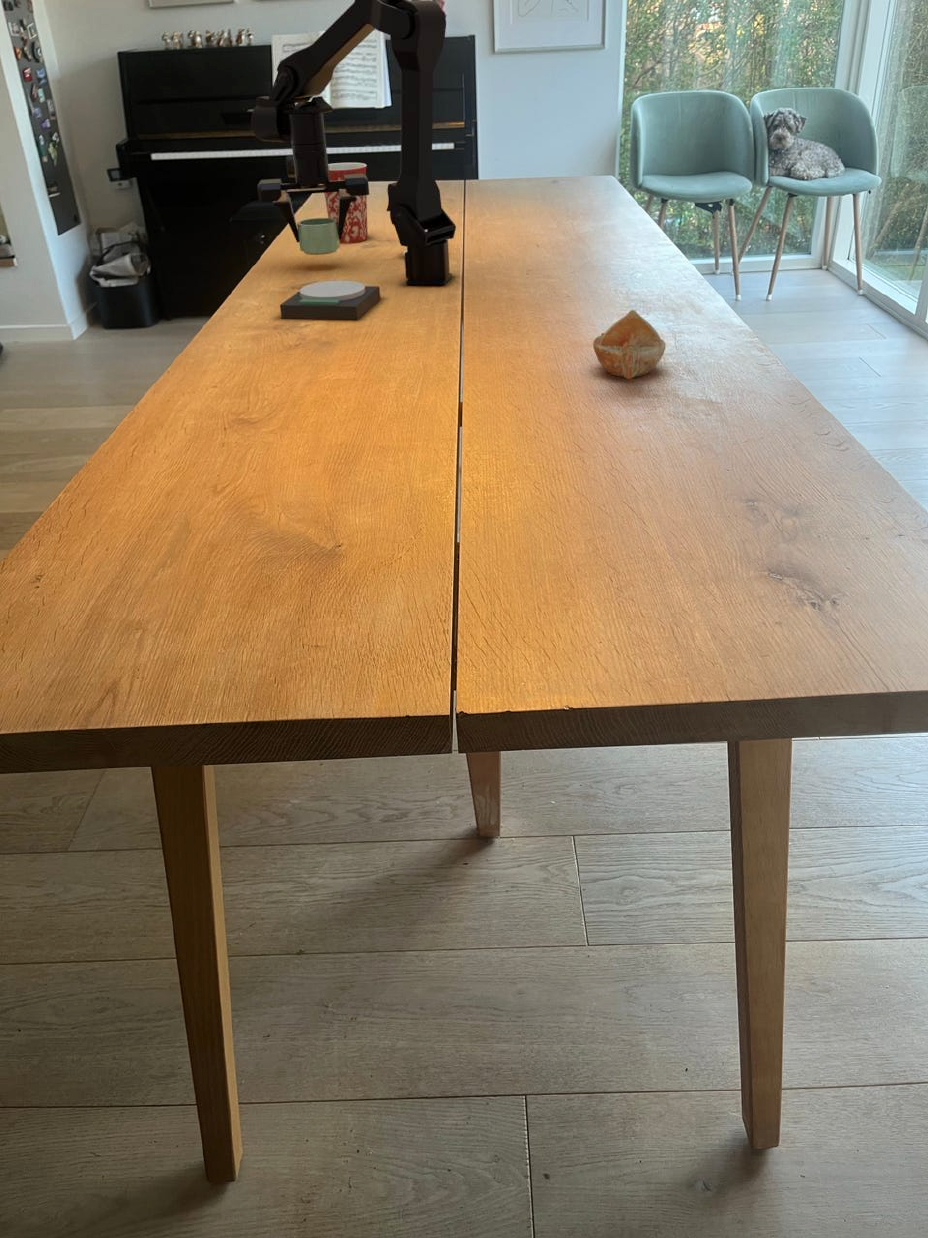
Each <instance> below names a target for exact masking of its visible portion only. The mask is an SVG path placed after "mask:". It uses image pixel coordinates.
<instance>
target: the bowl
mask: <svg viewBox="0 0 928 1238" xmlns="http://www.w3.org/2000/svg"><path fill="white" fill-rule="evenodd" d="M296 225H297V229H298V235H299V242H298V244H299V250H300V252H302V253H304V254H305V255H308V256H322V255H323V256H324V255H330V254H334V253H336V252H337V251H338V250H339V249H340V248H341V245H340V244H341V243H340V241H339V232H338V221H337V219H333V218H328V217H315V218H314V217H313V218H306V219H302V220H299V221H296Z"/></svg>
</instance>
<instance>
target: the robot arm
mask: <svg viewBox="0 0 928 1238" xmlns="http://www.w3.org/2000/svg"><path fill="white" fill-rule="evenodd" d="M375 30H377V31H378V32H379V33H383V34H386V35H389V38H390V47H391V51H392V53H393V55H394V57H395V61H396V62H397V64H398V67H399V70H400V172H399V176H398V178H397V181H396V182H391V183H388V184H387V190H386V192H387V199H388V202H387V206H386V212H389V218H390V222H391V225H393V226H394V229H395V231H396V235H397V238H398V241H399V244H400V246H401V247H406V250H407V252H406V253H405V254H404V253H403V257H404V256H405V257H404V271H405V278H406V282H405V284H406V285H411V286H412V285H414V286H443V285H446V284H447V283H448V282H449V281H450V279H452V278H453V273H451V272H450V254H449V240H452V239H454V237H455V234H456V230H457V226H456V224H455V223H454V222H453V220H452V219H451V218H450V216H449V215H448V213H446V211H445V210H444V209H443V207H442V199H441V191H440V188H439V186H438V184H437V181H436V179H435V177H434V175H433V129H434V128H433V126H434V125H433V122H434V121H433V119H434V118H433V117H434V72H435V69H436V66H437V64H438V61H439V60H440V57H441V55H442V52H443V50H444V44H445V37H446V30H447V17H446V14H445V11H443V10H442V8H441V6H440V5H439V4H438V3H437V2H436V1H434V0H354V2H353V3H352V4H351V5H350V6H349V7H348V8H347V9H346V10H345V11H344V12H343V13H342V14H340V16H339V17H337V19H336V20H334V22H333V23H332V24H331V25H330V26H329V27H328V28H327V29H326V30H325V31H324V32H323V33H321V35H320V36H319V37H317V38H316V40H315V41H314V42H313V43H311V44H310V45H308V46H307V47H304V48H302V49H300V50H297V51H294V52H293V53H291V54H290V55H288V56H286V57H285V58H283V59H281V60H280V61H279V63H278V64H277V67H276V71H277V74H276V77H275V80H274V82H273V84H272V87H271V90H270V94H269V95H268V96H258V97H256V105H255V106H254V108H253V110H252V114H251V119H250V128H251V131H252V133H253V135H254V137H256V139H258V140H260V141H263V142H278V143H279V142H280V143H291V151H292V155H286V156H285V162H286V171H287V177H288V178H295V182H290V183H289V182H287V183H282V178H272V179H261V180H260V181H259V183H258V184H257V194H258V201H259V203H267V202H268V203H269V202H272V207H275V208H277V207H278V208H279V210H280V211H281V213H282V214H283V217H284V218H285V220H286V221H287V224H288V225H289V227H290V231H291V232H292V235H293V237H294V238H295V241H296V243H299V235H298V227H297V221H296V217H295V213H294V208H293V203H292V199H291V196H295V195H296V196H297V195H309V194H310V195H311V194H324V193H328V192H339V193H340V194H339V215H338V232H339V240H341V239H342V234H343V229H344V224H345V219H346V215H347V213H348V210H349V207H350V204H351V202H355V201H357V198H356V196H364V195H367V196H369V195H370V187H369V186H370V185H369V179H368V177H367V175H366V176H365V175H364V174H351V175H344V180H335V181H330V177H329V167H328V164H329V160H328V151H327V141H326V133H325V121H324V114H327V113H332V112H333V110H334V108H333V107H332V106H331V105H330V103H328V102H327V101H326V100H325V99H324V97H323V96H321V94H322V93H323V92H324V91H325V89H326V88H327V86H328V85H329V84H330V82H331V81H332V79H333V76H334V71H335V69H336V67H337V66H338V65H339V64H340V63H341V62H342V61H343V60H344V59H345V58H346V57H348V55H350V53H352V52H353V51H354V50H355V49H356V48H357V47H358V46H359V45H360V44H361V43H362V42H363V41H364V40H365V39H366V38H368V36H370V34H371V33H373V31H375ZM319 95H320V96H319ZM323 184H324V185H323ZM325 187H326V188H325ZM425 230H427V232H425Z"/></svg>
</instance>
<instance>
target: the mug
mask: <svg viewBox="0 0 928 1238" xmlns="http://www.w3.org/2000/svg"><path fill="white" fill-rule="evenodd" d="M367 166H368V165H367V164H366V163H364V162H336V163H328V167H329V177H330V181H335V180H344V175H351V174H364V175H365V176H366V177H367ZM322 185H324V184H322ZM325 188H326V187H325ZM339 194H340V193H339V192H328V193H323V195H324V198H325V207H326V212H327V218H333V219H337V221H338V215H339ZM367 196H368V195H364V196H356V198H357V201H355V202H351V204H350V207H349V210H348V213H347V215H346V219H345V224H344V229H343V234H342V239H341V240H339V241H340V244H351V243H359V242H363V241H366V240H367V239H368V237H369V235H368V234H369V231H368V229H369V228H368V204H367V203H368V202H367V199H368V197H367Z"/></svg>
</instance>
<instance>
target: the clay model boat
mask: <svg viewBox="0 0 928 1238" xmlns="http://www.w3.org/2000/svg"><path fill="white" fill-rule="evenodd" d="M592 343H593V344H592V345H593V350H594V354H595V355H596V358H597V361H598V363H599V364H600V366H602V368H603V369H604V370H605V371H606V372H608V374H610V375H612V376H615V377H619V378H620V377H621V378H625V379H626V380H632V379H633V378H636V377H643V376H644V375H646V374H648V373H650V371H652V370H653V369H654V368H655V367H656V366H657V365H658V363H659V362H660V361H661V359H662V358H663V356H664V354H665V350H666V342H665V340H664V339H662V338H661V336H660V335H659V333H658V331H657V330H656V329H655V327H653V326H652V324H651V323H649V322H648V321H647V320H646V319H645V318H643V317H642V316H641V315H640V314H639V313H638V312H637V311H636V309H631V310H630V311H628V312H627V314H625V315H624V316H623V317H621V318H620V319H618V320H617V321H616V322H614V323H613V324H612V325H610V326H609V328H608V329H606V330H605V332H601V334H600V335H599V336H597V337H595V338H594V340H593V342H592Z"/></svg>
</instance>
